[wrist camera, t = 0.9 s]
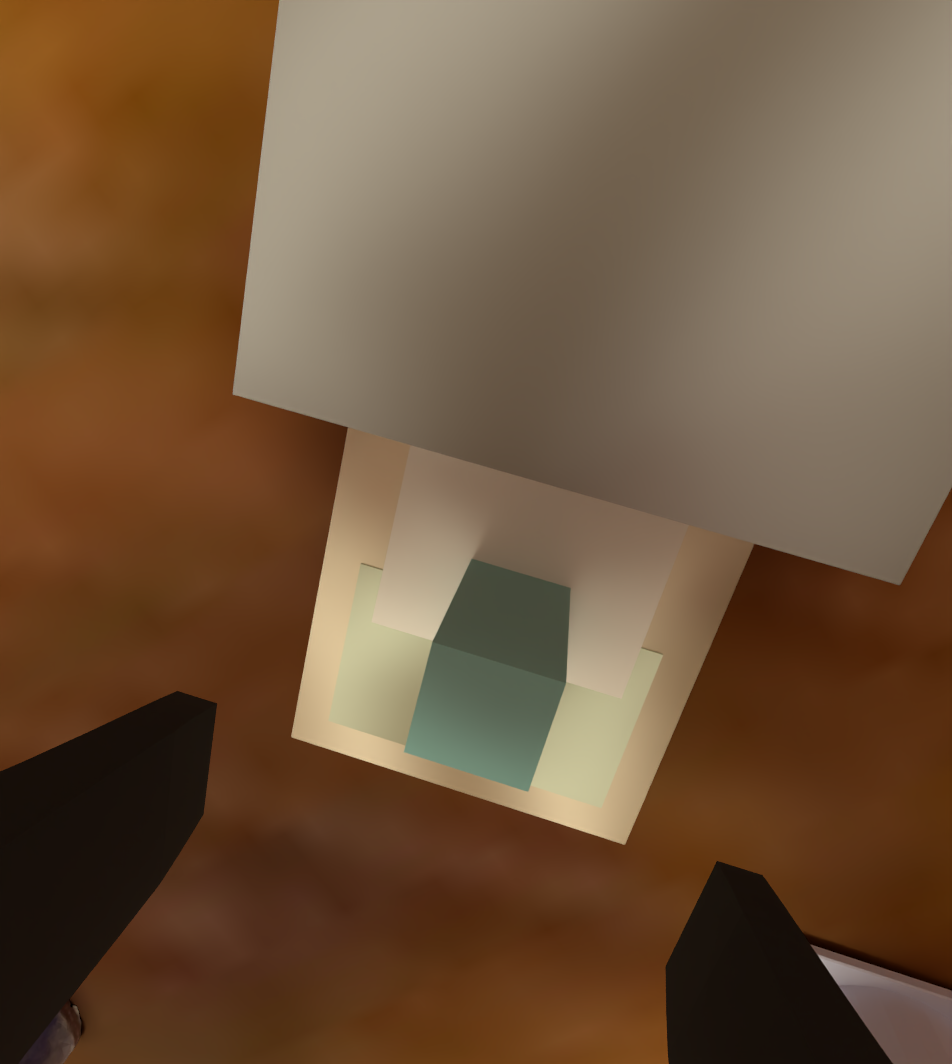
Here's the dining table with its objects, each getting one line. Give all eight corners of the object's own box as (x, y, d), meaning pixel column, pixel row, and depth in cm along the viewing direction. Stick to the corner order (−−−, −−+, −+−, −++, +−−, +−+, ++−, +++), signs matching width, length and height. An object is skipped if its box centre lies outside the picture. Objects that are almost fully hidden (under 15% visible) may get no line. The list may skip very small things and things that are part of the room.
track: (1034, -206, 12) (1859, -1168, 4) (620, 795, 20) (644, 1092, 12) (515, -310, 13) (408, -1307, 5) (317, 699, 21) (160, 923, 13)
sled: (865, 38, 12) (1056, -154, 7) (619, 681, 16) (633, 826, 12) (525, -40, 12) (489, -271, 7) (380, 608, 17) (302, 719, 12)
